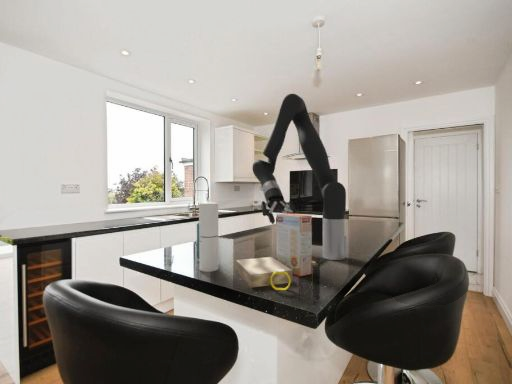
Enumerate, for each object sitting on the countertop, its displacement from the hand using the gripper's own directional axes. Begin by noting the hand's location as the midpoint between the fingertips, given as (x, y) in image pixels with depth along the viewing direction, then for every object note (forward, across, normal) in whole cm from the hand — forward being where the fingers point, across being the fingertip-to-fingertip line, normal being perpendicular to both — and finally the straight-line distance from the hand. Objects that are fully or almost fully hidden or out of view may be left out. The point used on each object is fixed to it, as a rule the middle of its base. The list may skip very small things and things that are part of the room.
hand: (283, 222), depth 107 cm
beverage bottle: (+1, -29, +24) cm, 37 cm away
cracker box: (+18, 0, +6) cm, 19 cm away
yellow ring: (+29, -12, -5) cm, 32 cm away
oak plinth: (+20, -13, +4) cm, 24 cm away
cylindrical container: (+9, -29, +15) cm, 34 cm away
